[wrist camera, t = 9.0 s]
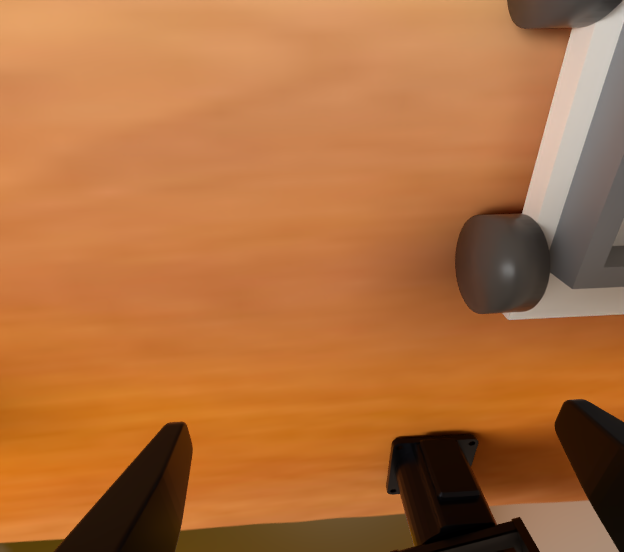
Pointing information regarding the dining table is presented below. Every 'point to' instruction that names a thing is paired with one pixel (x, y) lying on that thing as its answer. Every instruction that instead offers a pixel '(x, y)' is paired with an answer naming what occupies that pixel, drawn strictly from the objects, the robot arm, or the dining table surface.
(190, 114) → the dining table surface
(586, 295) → the car chassis
